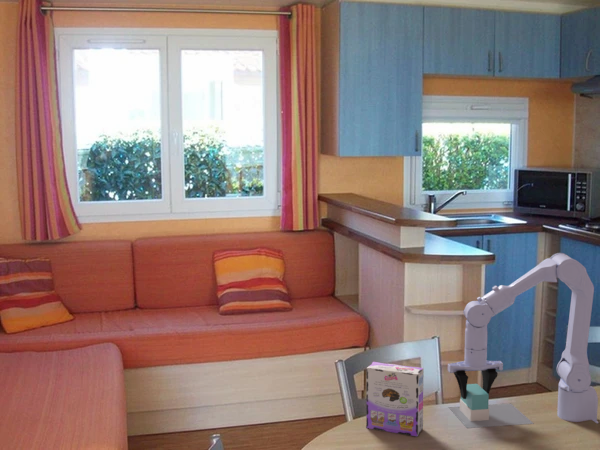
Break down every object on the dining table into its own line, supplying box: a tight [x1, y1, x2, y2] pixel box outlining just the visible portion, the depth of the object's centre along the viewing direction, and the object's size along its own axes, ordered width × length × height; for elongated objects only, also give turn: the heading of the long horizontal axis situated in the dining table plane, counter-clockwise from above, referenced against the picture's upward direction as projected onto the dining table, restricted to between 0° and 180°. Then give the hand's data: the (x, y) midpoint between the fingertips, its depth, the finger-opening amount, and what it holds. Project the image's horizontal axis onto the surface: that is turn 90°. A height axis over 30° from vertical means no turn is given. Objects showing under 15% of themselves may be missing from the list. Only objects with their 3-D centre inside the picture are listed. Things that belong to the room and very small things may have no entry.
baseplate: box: [447, 398, 534, 429], centre depth 196 cm, size 18×14×4 cm
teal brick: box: [460, 383, 490, 410], centre depth 196 cm, size 4×8×4 cm, turn 8°
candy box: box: [365, 361, 424, 437], centre depth 189 cm, size 14×6×16 cm, turn 65°
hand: (474, 396), depth 196 cm, fingers open, 5 cm apart
